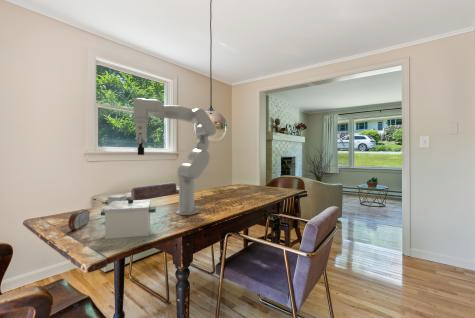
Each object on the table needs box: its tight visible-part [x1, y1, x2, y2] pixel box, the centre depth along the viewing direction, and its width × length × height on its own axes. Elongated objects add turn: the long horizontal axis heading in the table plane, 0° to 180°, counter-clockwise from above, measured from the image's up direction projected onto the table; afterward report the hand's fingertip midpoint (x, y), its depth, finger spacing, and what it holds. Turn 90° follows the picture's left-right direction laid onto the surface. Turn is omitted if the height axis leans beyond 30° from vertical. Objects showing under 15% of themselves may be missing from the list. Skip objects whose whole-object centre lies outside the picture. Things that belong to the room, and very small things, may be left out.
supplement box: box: [107, 194, 127, 206], centre depth 143 cm, size 7×7×13 cm
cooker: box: [100, 206, 157, 240], centre depth 120 cm, size 24×18×12 cm
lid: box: [104, 198, 152, 212], centre depth 119 cm, size 19×19×3 cm
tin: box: [67, 209, 90, 231], centre depth 125 cm, size 15×3×8 cm, turn 5°
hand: (141, 154), depth 135 cm, fingers closed
